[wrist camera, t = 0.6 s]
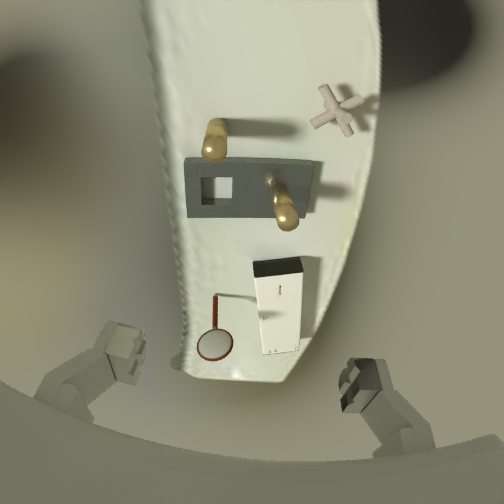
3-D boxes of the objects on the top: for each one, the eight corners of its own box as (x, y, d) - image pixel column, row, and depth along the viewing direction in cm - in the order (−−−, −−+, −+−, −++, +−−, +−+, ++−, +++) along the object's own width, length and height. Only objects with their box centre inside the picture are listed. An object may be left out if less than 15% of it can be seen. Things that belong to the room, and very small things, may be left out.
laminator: (252, 259, 72) (254, 277, 67) (303, 253, 72) (308, 271, 67) (261, 338, 94) (263, 355, 89) (299, 334, 94) (302, 350, 89)
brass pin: (214, 114, 49) (211, 135, 39) (231, 125, 51) (232, 149, 41) (203, 129, 51) (196, 155, 41) (219, 139, 52) (217, 167, 42)
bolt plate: (188, 211, 62) (181, 251, 52) (185, 157, 54) (175, 189, 44) (302, 212, 64) (316, 250, 54) (310, 160, 56) (329, 191, 46)
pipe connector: (361, 114, 50) (384, 130, 43) (318, 138, 53) (334, 158, 46) (338, 70, 45) (359, 77, 37) (291, 95, 48) (304, 106, 40)
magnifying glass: (200, 299, 79) (197, 364, 64) (198, 295, 78) (195, 361, 63) (232, 293, 78) (234, 359, 63) (230, 289, 77) (232, 356, 62)
